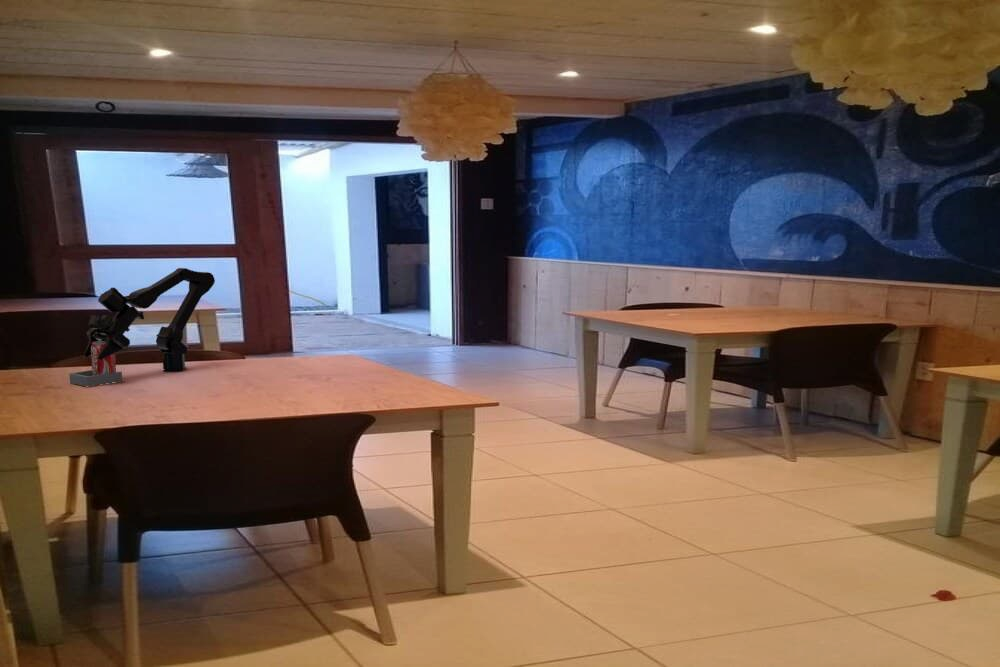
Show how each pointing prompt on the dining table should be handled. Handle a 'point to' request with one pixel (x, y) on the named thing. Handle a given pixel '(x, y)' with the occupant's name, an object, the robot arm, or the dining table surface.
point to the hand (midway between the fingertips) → (91, 357)
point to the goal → (94, 378)
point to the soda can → (104, 364)
